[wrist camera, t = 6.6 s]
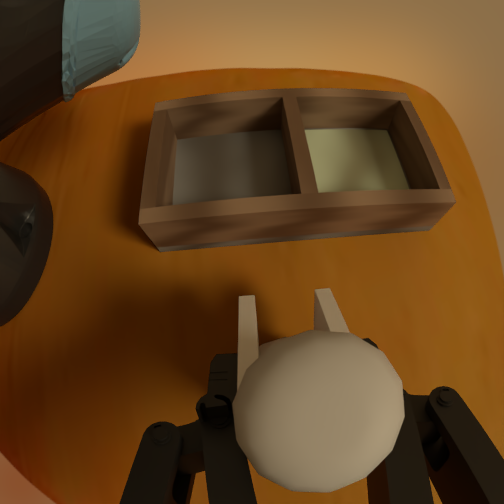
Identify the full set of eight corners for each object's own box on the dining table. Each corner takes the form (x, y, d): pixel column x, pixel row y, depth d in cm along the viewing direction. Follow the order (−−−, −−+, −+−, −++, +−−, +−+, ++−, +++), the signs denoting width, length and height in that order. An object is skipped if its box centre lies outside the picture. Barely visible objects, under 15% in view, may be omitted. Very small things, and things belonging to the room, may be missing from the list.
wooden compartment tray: (160, 251, 22) (138, 224, 18) (168, 138, 25) (155, 102, 21) (429, 230, 21) (456, 202, 17) (391, 127, 25) (405, 93, 21)
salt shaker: (235, 345, 19) (184, 300, 7) (327, 335, 19) (423, 272, 7) (244, 435, 17) (209, 537, 5) (337, 424, 17) (444, 492, 5)
